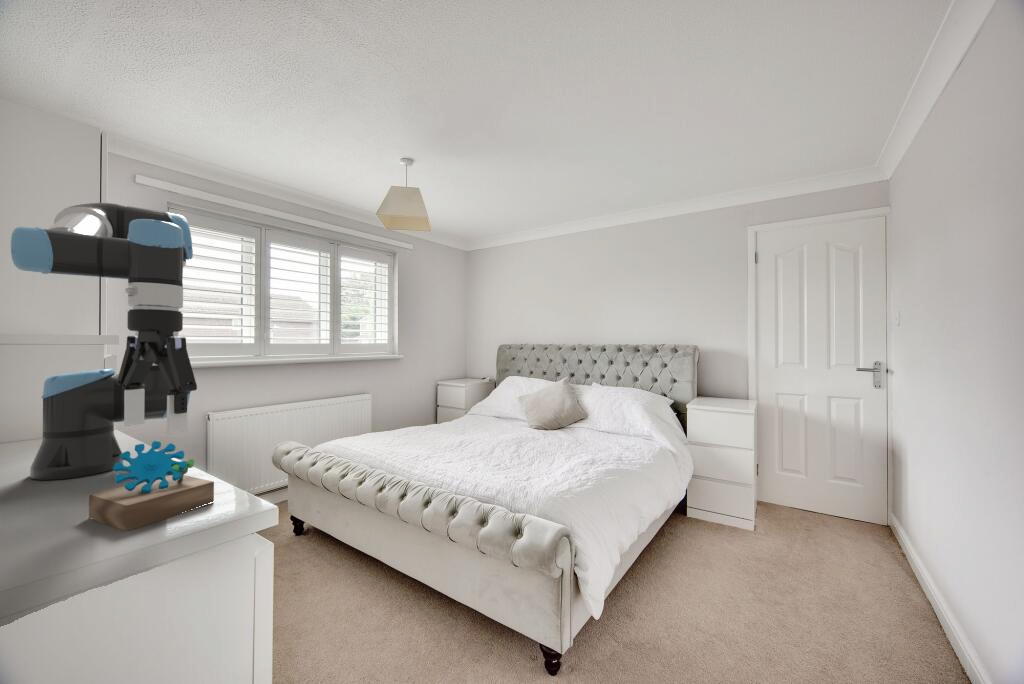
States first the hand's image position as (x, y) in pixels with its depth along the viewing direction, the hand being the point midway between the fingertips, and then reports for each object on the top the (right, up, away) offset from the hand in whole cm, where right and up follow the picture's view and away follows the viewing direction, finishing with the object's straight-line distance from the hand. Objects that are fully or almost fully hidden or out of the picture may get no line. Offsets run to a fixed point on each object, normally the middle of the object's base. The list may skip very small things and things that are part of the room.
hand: (154, 428), depth 75 cm
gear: (0, -11, 0) cm, 11 cm away
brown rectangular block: (0, -14, 0) cm, 14 cm away
